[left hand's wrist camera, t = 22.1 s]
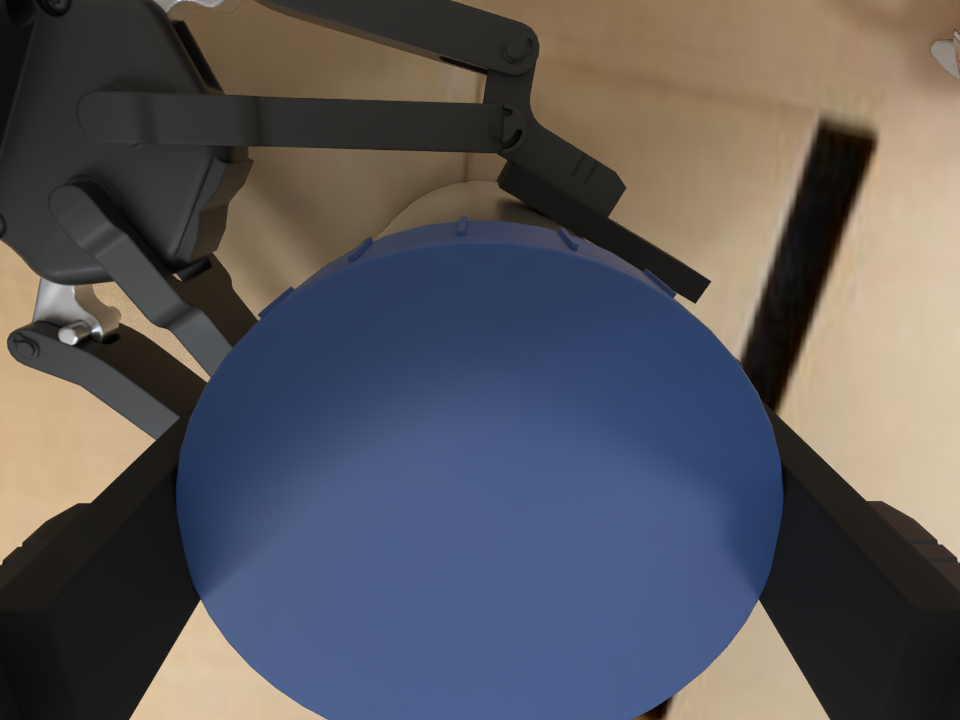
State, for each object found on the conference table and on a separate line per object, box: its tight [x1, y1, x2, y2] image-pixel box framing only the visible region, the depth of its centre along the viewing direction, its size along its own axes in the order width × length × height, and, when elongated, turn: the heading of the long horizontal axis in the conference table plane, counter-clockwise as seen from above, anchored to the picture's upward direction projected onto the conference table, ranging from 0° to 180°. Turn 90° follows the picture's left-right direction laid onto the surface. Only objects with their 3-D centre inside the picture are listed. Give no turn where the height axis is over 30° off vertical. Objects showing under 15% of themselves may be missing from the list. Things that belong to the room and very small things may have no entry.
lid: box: [176, 216, 784, 720], centre depth 11 cm, size 10×10×2 cm
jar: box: [374, 181, 586, 241], centre depth 18 cm, size 9×9×15 cm
